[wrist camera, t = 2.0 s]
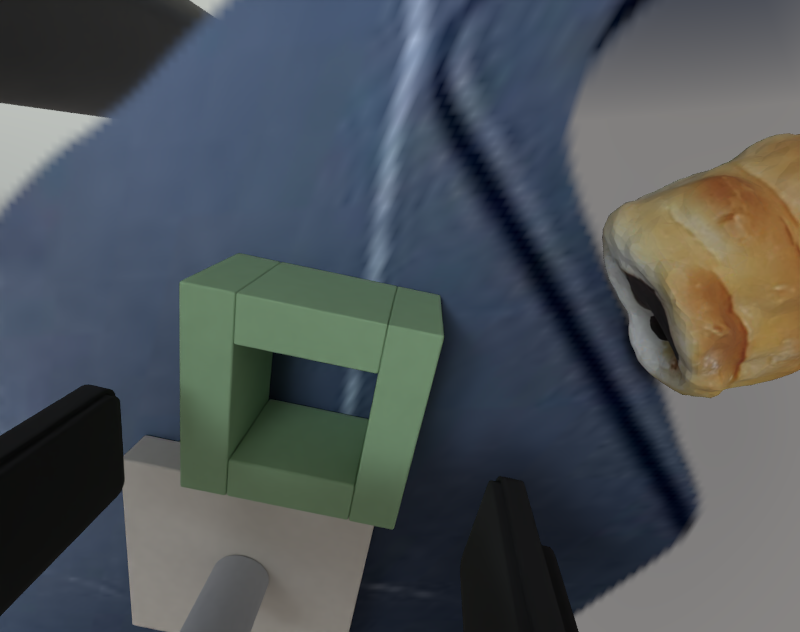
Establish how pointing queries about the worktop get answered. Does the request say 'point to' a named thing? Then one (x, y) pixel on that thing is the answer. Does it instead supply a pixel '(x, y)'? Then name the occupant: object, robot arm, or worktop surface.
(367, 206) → the worktop surface
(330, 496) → the green hollow square block
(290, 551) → the base pad
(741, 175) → the pastry
